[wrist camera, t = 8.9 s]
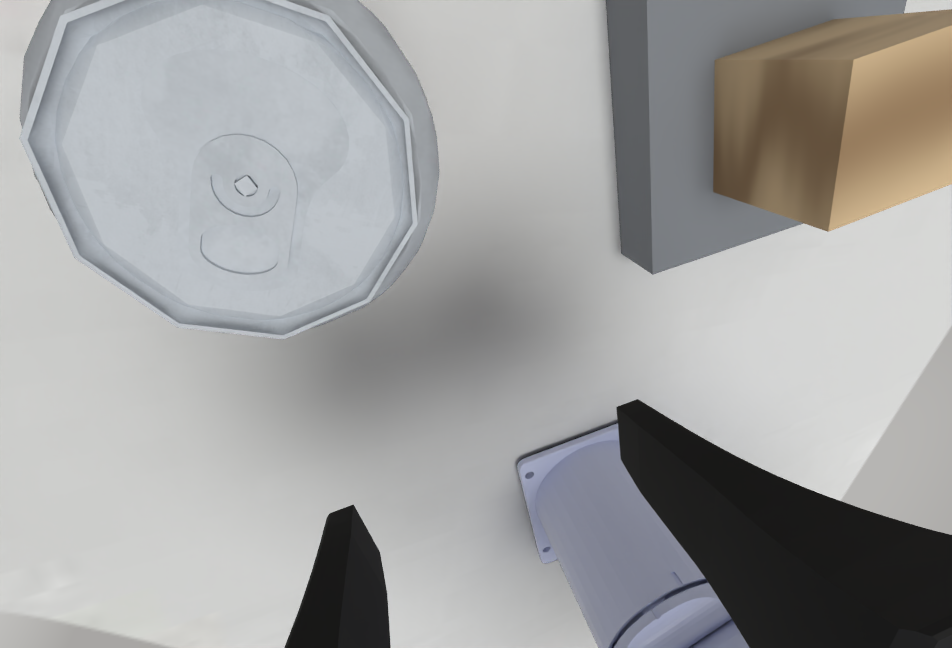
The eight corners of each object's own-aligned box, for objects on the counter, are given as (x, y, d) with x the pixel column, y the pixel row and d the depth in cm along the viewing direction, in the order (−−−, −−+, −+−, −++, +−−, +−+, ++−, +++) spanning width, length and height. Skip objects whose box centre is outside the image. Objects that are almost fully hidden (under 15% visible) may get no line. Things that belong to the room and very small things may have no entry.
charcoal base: (803, 187, 23) (861, 203, 20) (615, 249, 22) (652, 274, 19) (842, -74, 18) (927, -95, 15) (598, -10, 17) (646, -21, 14)
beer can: (388, 48, 15) (505, 23, 5) (360, 193, 17) (408, 382, 7) (222, -10, 14) (-87, -215, 3) (212, 159, 16) (-7, 346, 5)
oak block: (817, 153, 19) (959, 180, 14) (713, 192, 18) (828, 231, 14) (833, 19, 16) (1010, 4, 12) (714, 59, 16) (853, 59, 12)
